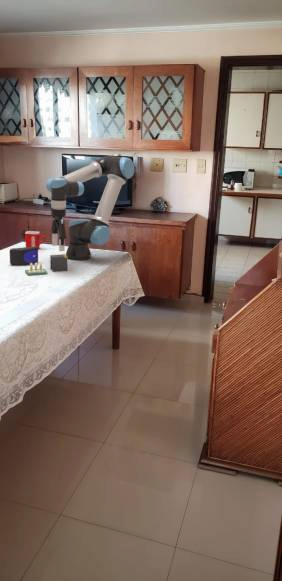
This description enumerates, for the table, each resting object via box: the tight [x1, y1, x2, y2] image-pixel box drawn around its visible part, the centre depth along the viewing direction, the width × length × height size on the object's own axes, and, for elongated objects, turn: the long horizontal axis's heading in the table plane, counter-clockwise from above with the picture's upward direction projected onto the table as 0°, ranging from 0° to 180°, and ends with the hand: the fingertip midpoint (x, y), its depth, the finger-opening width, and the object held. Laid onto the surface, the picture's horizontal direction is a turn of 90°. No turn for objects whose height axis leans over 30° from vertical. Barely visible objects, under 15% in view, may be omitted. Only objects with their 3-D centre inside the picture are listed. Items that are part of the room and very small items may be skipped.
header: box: [24, 261, 48, 277], centre depth 236 cm, size 10×7×6 cm
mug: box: [24, 230, 46, 250], centre depth 285 cm, size 12×8×11 cm
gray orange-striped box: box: [49, 253, 68, 273], centre depth 243 cm, size 8×5×8 cm, turn 116°
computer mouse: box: [9, 246, 39, 266], centre depth 250 cm, size 16×5×9 cm, turn 123°
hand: (58, 248), depth 241 cm, fingers open, 13 cm apart
